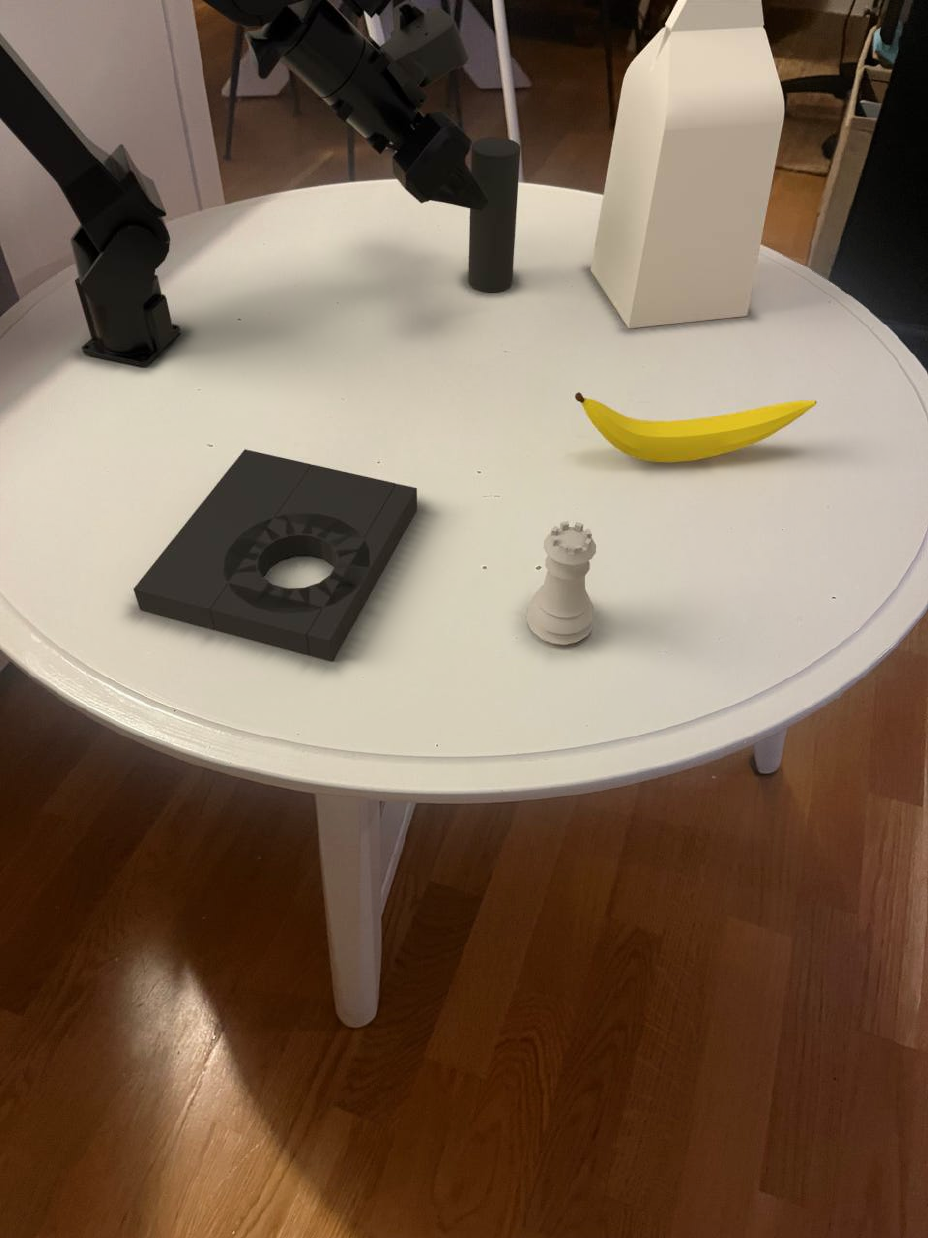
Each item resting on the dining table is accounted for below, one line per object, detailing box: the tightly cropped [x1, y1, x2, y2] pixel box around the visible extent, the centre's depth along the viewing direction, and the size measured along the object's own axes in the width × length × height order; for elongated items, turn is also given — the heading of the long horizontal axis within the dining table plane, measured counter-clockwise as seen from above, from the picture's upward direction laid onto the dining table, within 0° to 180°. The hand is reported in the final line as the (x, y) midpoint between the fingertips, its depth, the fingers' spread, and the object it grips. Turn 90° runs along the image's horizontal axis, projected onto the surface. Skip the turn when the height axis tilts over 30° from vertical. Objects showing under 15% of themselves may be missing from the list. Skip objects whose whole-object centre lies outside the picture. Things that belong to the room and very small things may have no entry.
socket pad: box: [133, 449, 418, 662], centre depth 68 cm, size 14×16×2 cm
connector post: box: [467, 136, 521, 294], centre depth 92 cm, size 4×4×13 cm
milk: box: [590, 0, 785, 329], centre depth 87 cm, size 12×12×26 cm
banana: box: [574, 391, 817, 463], centre depth 76 cm, size 3×19×6 cm, turn 95°
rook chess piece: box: [526, 520, 597, 646], centre depth 62 cm, size 4×4×8 cm
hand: (466, 184), depth 89 cm, fingers open, 9 cm apart
